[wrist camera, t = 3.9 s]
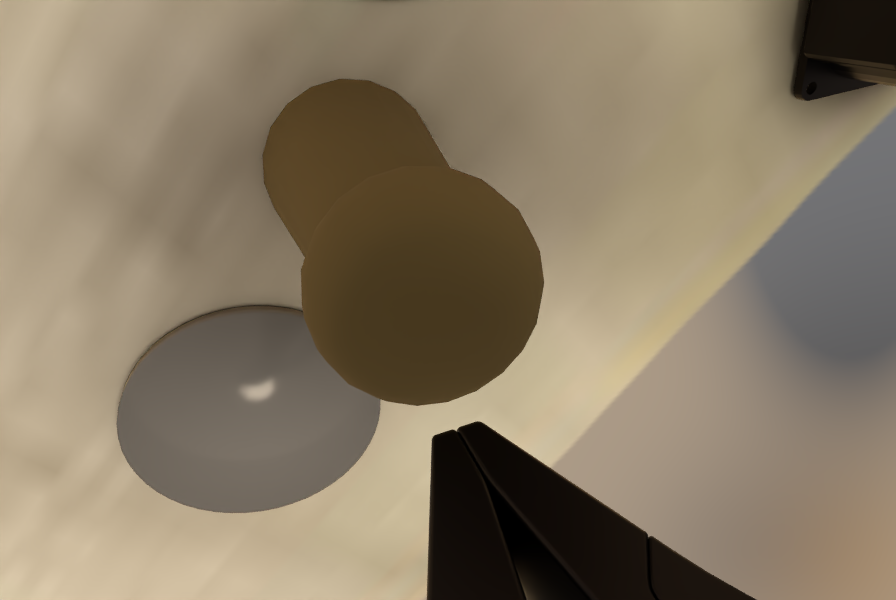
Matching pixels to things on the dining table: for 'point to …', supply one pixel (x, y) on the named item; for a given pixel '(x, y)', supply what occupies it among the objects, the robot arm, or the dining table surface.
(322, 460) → the coaster empty
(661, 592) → the robot arm
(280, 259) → the dining table surface
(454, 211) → the brown rounded piece
